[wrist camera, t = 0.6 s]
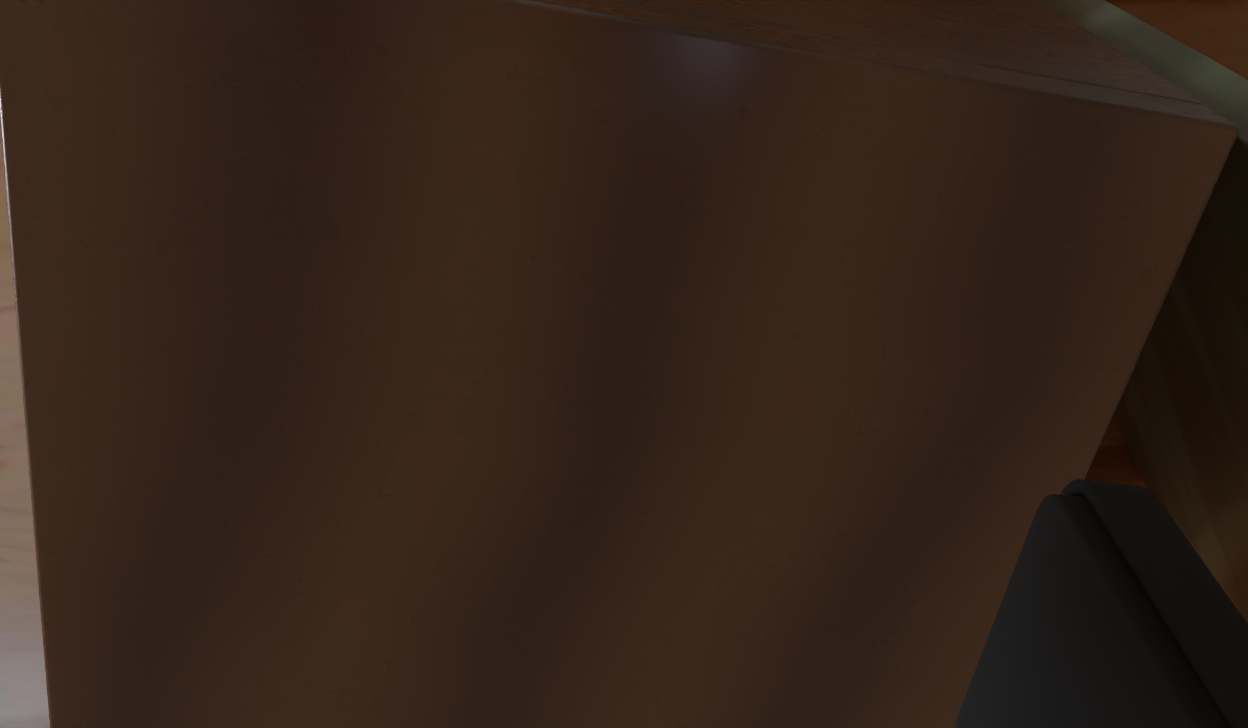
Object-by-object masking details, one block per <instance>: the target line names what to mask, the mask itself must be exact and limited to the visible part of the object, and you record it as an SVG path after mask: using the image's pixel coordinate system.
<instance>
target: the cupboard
mask: <svg viewBox="0 0 1248 728" xmlns="http://www.w3.org/2000/svg"><path fill="white" fill-rule="evenodd" d="M0 122H1V134H2V146H3V158H4V170H5V183H6V195H7V207H8V219H9V231H10V244H11V256H12V268H13V280H14V292H15V304H16V317H17V329H18V341H19V353H20V365H21V378H22V390H23V402H24V414H25V426H26V438H27V451H28V463H29V475H30V487H31V499H32V512H33V524H34V536H35V548H36V560H37V572H38V585H39V597H40V609H41V621H42V633H43V646H44V658H45V670H46V682H47V694H48V707H49V719H50V728H953V727H954V724H955V722H956V719H957V716H958V714H959V711H960V709H961V706H962V703H963V701H964V698H965V696H966V693H967V690H968V688H969V685H970V683H971V680H972V677H973V675H974V672H975V670H976V667H977V664H978V662H979V659H980V657H981V654H982V651H983V649H984V646H985V644H986V641H987V638H988V636H989V633H990V631H991V628H992V625H993V623H994V620H995V618H996V615H997V613H998V610H999V607H1000V605H1001V602H1002V600H1003V597H1004V594H1005V592H1006V589H1007V587H1008V584H1009V581H1010V579H1011V576H1012V574H1013V571H1014V568H1015V566H1016V563H1017V561H1018V558H1019V555H1020V553H1021V550H1022V548H1023V545H1024V542H1025V540H1026V537H1027V535H1028V532H1029V529H1030V527H1031V524H1032V522H1033V519H1034V516H1035V514H1036V511H1037V509H1038V507H1039V505H1040V503H1041V501H1042V500H1043V499H1044V498H1045V497H1046V496H1047V495H1050V494H1059V495H1060V494H1061V492H1062V490H1063V489H1064V488H1065V487H1066V486H1067V485H1068V484H1069V482H1071V481H1074V480H1077V479H1082V480H1085V477H1086V475H1087V473H1088V471H1089V468H1090V466H1091V464H1092V462H1093V459H1094V457H1095V455H1096V453H1097V450H1098V448H1099V446H1100V444H1101V441H1102V439H1103V437H1104V435H1105V432H1106V430H1107V428H1108V426H1109V423H1110V421H1111V419H1112V417H1113V414H1114V412H1115V410H1116V408H1117V405H1118V403H1119V401H1120V399H1121V396H1122V394H1123V392H1124V390H1125V387H1126V385H1127V383H1128V381H1129V378H1130V376H1131V374H1132V372H1133V369H1134V367H1135V365H1136V363H1137V360H1138V358H1139V356H1140V354H1141V351H1142V349H1143V347H1144V345H1145V342H1146V340H1147V338H1148V336H1149V333H1150V331H1151V329H1152V327H1153V324H1154V322H1155V320H1156V318H1157V315H1158V313H1159V311H1160V309H1161V306H1162V304H1163V302H1164V300H1165V297H1166V295H1167V293H1168V291H1169V288H1170V286H1171V284H1172V282H1173V279H1174V277H1175V275H1176V273H1177V270H1178V268H1179V266H1180V264H1181V261H1182V259H1183V257H1184V255H1185V252H1186V250H1187V248H1188V246H1189V243H1190V241H1191V239H1192V237H1193V234H1194V232H1195V230H1196V228H1197V225H1198V223H1199V221H1200V219H1201V216H1202V214H1203V212H1204V210H1205V207H1206V205H1207V203H1208V201H1209V198H1210V196H1211V194H1212V192H1213V189H1214V187H1215V185H1216V183H1217V180H1218V178H1219V176H1220V174H1221V171H1222V169H1223V167H1224V165H1225V162H1226V160H1227V158H1228V156H1229V153H1230V151H1231V149H1232V147H1233V144H1234V142H1235V140H1236V138H1237V135H1238V133H1239V128H1238V127H1237V126H1236V125H1234V124H1233V123H1231V122H1230V121H1228V120H1226V119H1225V118H1223V117H1222V116H1220V115H1219V114H1217V113H1215V112H1214V111H1212V110H1211V109H1209V108H1208V107H1206V106H1205V105H1204V104H1203V103H1202V102H1200V101H1199V100H1197V99H1195V98H1194V97H1192V96H1191V95H1189V94H1188V93H1186V92H1184V91H1183V90H1181V89H1180V88H1178V87H1177V86H1175V85H1173V84H1172V83H1170V82H1169V81H1167V80H1166V79H1164V78H1162V77H1161V76H1159V75H1158V74H1156V73H1155V72H1153V71H1151V70H1150V69H1148V68H1147V67H1145V66H1144V65H1142V64H1140V63H1139V62H1137V61H1136V60H1134V59H1133V58H1131V57H1129V56H1128V55H1126V54H1125V53H1123V52H1122V51H1120V50H1118V49H1117V48H1115V47H1114V46H1112V45H1111V44H1109V43H1107V42H1106V41H1104V40H1103V39H1101V38H1100V37H1098V36H1096V35H1095V34H1093V33H1092V32H1090V31H1089V30H1087V29H1085V28H1084V27H1082V26H1081V25H1079V24H1078V23H1076V22H1074V21H1073V20H1071V19H1070V18H1068V17H1067V16H1065V15H1063V14H1062V13H1060V12H1059V11H1057V10H1056V9H1054V8H1052V7H1051V6H1049V5H1048V4H1046V3H1045V2H1043V1H1042V0H0Z"/></svg>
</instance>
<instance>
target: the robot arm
mask: <svg viewBox="0 0 1248 728" xmlns="http://www.w3.org/2000/svg"><path fill="white" fill-rule="evenodd" d="M953 728H1248V623H1247V622H1246V621H1245V619H1244V618H1243V616H1242V615H1241V614H1240V612H1239V611H1238V609H1237V608H1236V607H1235V605H1234V604H1233V602H1232V601H1231V600H1230V598H1229V597H1228V596H1227V594H1226V593H1225V591H1224V590H1223V589H1222V587H1221V586H1220V584H1219V583H1218V582H1217V580H1216V579H1215V577H1214V576H1213V575H1212V573H1211V572H1210V570H1209V569H1208V568H1207V566H1206V565H1205V563H1204V562H1203V561H1202V559H1201V558H1200V556H1199V555H1198V554H1197V552H1196V551H1195V550H1194V548H1193V547H1192V545H1191V544H1190V543H1189V541H1188V540H1187V538H1186V537H1185V536H1184V534H1183V533H1182V531H1181V530H1180V529H1179V527H1178V526H1177V524H1176V523H1175V522H1174V520H1173V519H1172V517H1171V516H1170V515H1169V513H1168V512H1167V510H1166V509H1165V508H1164V506H1163V505H1162V504H1161V502H1160V501H1159V499H1158V498H1157V497H1156V495H1155V494H1154V493H1153V492H1151V491H1150V490H1149V489H1148V488H1145V487H1141V486H1134V485H1126V484H1117V483H1108V482H1099V481H1090V480H1082V479H1077V480H1074V481H1071V482H1069V484H1068V485H1067V486H1066V487H1065V488H1064V489H1063V490H1062V492H1061V494H1060V495H1059V494H1050V495H1047V496H1046V497H1045V498H1044V499H1043V500H1042V501H1041V503H1040V505H1039V507H1038V509H1037V511H1036V514H1035V516H1034V519H1033V522H1032V524H1031V527H1030V529H1029V532H1028V535H1027V537H1026V540H1025V542H1024V545H1023V548H1022V550H1021V553H1020V555H1019V558H1018V561H1017V563H1016V566H1015V568H1014V571H1013V574H1012V576H1011V579H1010V581H1009V584H1008V587H1007V589H1006V592H1005V594H1004V597H1003V600H1002V602H1001V605H1000V607H999V610H998V613H997V615H996V618H995V620H994V623H993V625H992V628H991V631H990V633H989V636H988V638H987V641H986V644H985V646H984V649H983V651H982V654H981V657H980V659H979V662H978V664H977V667H976V670H975V672H974V675H973V677H972V680H971V683H970V685H969V688H968V690H967V693H966V696H965V698H964V701H963V703H962V706H961V709H960V711H959V714H958V716H957V719H956V722H955V724H954V727H953Z"/></svg>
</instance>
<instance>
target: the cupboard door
mask: <svg viewBox="0 0 1248 728" xmlns="http://www.w3.org/2000/svg"><path fill="white" fill-rule="evenodd" d="M1042 1H1043V2H1045V3H1046V4H1048V5H1049V6H1051V7H1052V8H1054V9H1056V10H1057V11H1059V12H1060V13H1062V14H1063V15H1065V16H1067V17H1068V18H1070V19H1071V20H1073V21H1074V22H1076V23H1078V24H1079V25H1081V26H1082V27H1084V28H1085V29H1087V30H1089V31H1090V32H1092V33H1093V34H1095V35H1096V36H1098V37H1100V38H1101V39H1103V40H1104V41H1106V42H1107V43H1109V44H1111V45H1112V46H1114V47H1115V48H1117V49H1118V50H1120V51H1122V52H1123V53H1125V54H1126V55H1128V56H1129V57H1131V58H1133V59H1134V60H1136V61H1137V62H1139V63H1140V64H1142V65H1144V66H1145V67H1147V68H1148V69H1150V70H1151V71H1153V72H1155V73H1156V74H1158V75H1159V76H1161V77H1162V78H1164V79H1166V80H1167V81H1169V82H1170V83H1172V84H1173V85H1175V86H1177V87H1178V88H1180V89H1181V90H1183V91H1184V92H1186V93H1188V94H1189V95H1191V96H1192V97H1194V98H1195V99H1197V100H1199V101H1200V102H1202V103H1203V104H1204V105H1205V106H1206V107H1208V108H1209V109H1211V110H1212V111H1214V112H1215V113H1217V114H1219V115H1220V116H1222V117H1223V118H1225V119H1226V120H1228V121H1230V122H1231V123H1233V124H1234V125H1236V126H1237V127H1238V128H1239V133H1238V135H1237V138H1236V140H1235V142H1234V144H1233V147H1232V149H1231V151H1230V153H1229V156H1228V158H1227V160H1226V162H1225V165H1224V167H1223V169H1222V171H1221V174H1220V176H1219V178H1218V180H1217V183H1216V185H1215V187H1214V189H1213V192H1212V194H1211V196H1210V198H1209V201H1208V203H1207V205H1206V207H1205V210H1204V212H1203V214H1202V216H1201V219H1200V221H1199V223H1198V225H1197V228H1196V230H1195V232H1194V234H1193V237H1192V239H1191V241H1190V243H1189V246H1188V248H1187V250H1186V252H1185V255H1184V257H1183V259H1182V261H1181V264H1180V266H1179V268H1178V270H1177V273H1176V275H1175V277H1174V279H1173V282H1172V284H1171V286H1170V288H1169V291H1168V293H1167V295H1166V297H1165V300H1164V302H1163V304H1162V306H1161V309H1160V311H1159V313H1158V315H1157V318H1156V320H1155V322H1154V324H1153V327H1152V329H1151V331H1150V333H1149V336H1148V338H1147V340H1146V342H1145V345H1144V347H1143V349H1142V351H1141V354H1140V356H1139V358H1138V360H1137V363H1136V365H1135V367H1134V369H1133V372H1132V374H1131V376H1130V378H1129V381H1128V383H1127V385H1126V387H1125V390H1124V392H1123V394H1122V396H1121V399H1120V401H1119V403H1118V405H1117V408H1116V410H1115V412H1114V415H1115V417H1116V419H1117V422H1118V424H1119V426H1120V429H1121V431H1122V433H1123V436H1124V438H1125V440H1126V443H1127V445H1128V447H1129V449H1130V452H1131V454H1132V456H1133V459H1134V461H1135V463H1136V466H1137V468H1138V470H1139V473H1140V475H1141V477H1142V479H1143V482H1144V483H1145V484H1146V486H1147V487H1148V489H1149V490H1150V491H1151V492H1153V493H1154V494H1155V495H1156V497H1157V498H1158V499H1159V501H1160V502H1161V504H1162V505H1163V506H1164V508H1165V509H1166V510H1167V512H1168V513H1169V515H1170V516H1171V517H1172V519H1173V520H1174V522H1175V523H1176V524H1177V526H1178V527H1179V529H1180V530H1181V531H1182V533H1183V534H1184V536H1185V537H1186V538H1187V540H1188V541H1189V543H1190V544H1191V545H1192V547H1193V548H1194V550H1195V551H1196V552H1197V554H1198V555H1199V556H1200V558H1201V559H1202V561H1203V562H1204V563H1205V565H1206V566H1207V568H1208V569H1209V570H1210V572H1211V573H1212V575H1213V576H1214V577H1215V579H1216V580H1217V582H1218V583H1219V584H1220V586H1221V587H1222V589H1223V590H1224V591H1225V593H1226V594H1227V596H1228V597H1229V598H1230V600H1231V601H1232V602H1233V604H1234V605H1235V607H1236V608H1237V609H1238V611H1239V612H1240V614H1241V615H1242V616H1243V618H1244V619H1245V621H1246V622H1247V623H1248V79H1246V78H1244V77H1242V76H1241V75H1239V74H1237V73H1235V72H1233V71H1232V70H1230V69H1228V68H1226V67H1224V66H1223V65H1221V64H1219V63H1217V62H1215V61H1214V60H1212V59H1210V58H1208V57H1206V56H1205V55H1203V54H1201V53H1199V52H1197V51H1196V50H1194V49H1192V48H1190V47H1188V46H1187V45H1185V44H1183V43H1181V42H1179V41H1178V40H1176V39H1174V38H1172V37H1170V36H1169V35H1167V34H1165V33H1163V32H1161V31H1160V30H1158V29H1156V28H1154V27H1152V26H1151V25H1149V24H1147V23H1145V22H1143V21H1142V20H1140V19H1138V18H1136V17H1134V16H1133V15H1131V14H1129V13H1127V12H1125V11H1124V10H1122V9H1120V8H1118V7H1116V6H1115V5H1113V4H1111V3H1109V2H1107V1H1106V0H1042Z"/></svg>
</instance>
